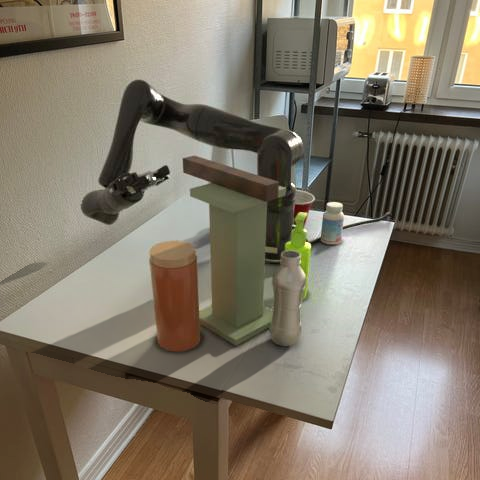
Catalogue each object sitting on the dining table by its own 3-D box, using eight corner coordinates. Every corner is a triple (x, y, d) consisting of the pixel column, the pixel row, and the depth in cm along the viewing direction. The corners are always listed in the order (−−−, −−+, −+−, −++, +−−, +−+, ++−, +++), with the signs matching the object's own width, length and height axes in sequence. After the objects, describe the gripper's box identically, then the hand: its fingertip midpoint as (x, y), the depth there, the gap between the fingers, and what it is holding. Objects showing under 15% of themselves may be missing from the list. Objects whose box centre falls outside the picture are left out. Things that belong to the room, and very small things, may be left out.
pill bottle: (340, 246, 144) (345, 209, 138) (319, 244, 145) (323, 207, 139) (341, 237, 149) (345, 202, 143) (321, 236, 150) (324, 200, 144)
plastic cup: (302, 242, 145) (305, 203, 139) (270, 234, 150) (271, 196, 144) (317, 230, 153) (321, 193, 147) (286, 223, 158) (288, 186, 151)
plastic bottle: (266, 332, 106) (270, 247, 95) (297, 331, 106) (305, 246, 95) (270, 350, 100) (275, 262, 89) (303, 349, 101) (311, 261, 90)
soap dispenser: (309, 289, 122) (316, 212, 111) (303, 302, 116) (310, 223, 105) (286, 285, 123) (291, 209, 113) (279, 298, 118) (284, 219, 107)
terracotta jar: (194, 324, 108) (190, 237, 97) (205, 347, 101) (201, 256, 90) (154, 331, 106) (145, 243, 95) (162, 355, 99) (152, 263, 88)
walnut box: (183, 172, 102) (182, 158, 100) (195, 169, 104) (194, 155, 102) (265, 202, 87) (266, 185, 85) (278, 198, 89) (279, 181, 87)
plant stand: (193, 319, 110) (186, 187, 94) (238, 297, 118) (239, 173, 102) (235, 346, 102) (236, 206, 85) (281, 321, 110) (290, 189, 93)
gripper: (93, 184, 121) (119, 162, 108) (141, 173, 129) (171, 151, 116) (104, 213, 122) (132, 195, 110) (152, 200, 131) (182, 182, 118)
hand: (152, 172), depth 113 cm, fingers open, 8 cm apart
